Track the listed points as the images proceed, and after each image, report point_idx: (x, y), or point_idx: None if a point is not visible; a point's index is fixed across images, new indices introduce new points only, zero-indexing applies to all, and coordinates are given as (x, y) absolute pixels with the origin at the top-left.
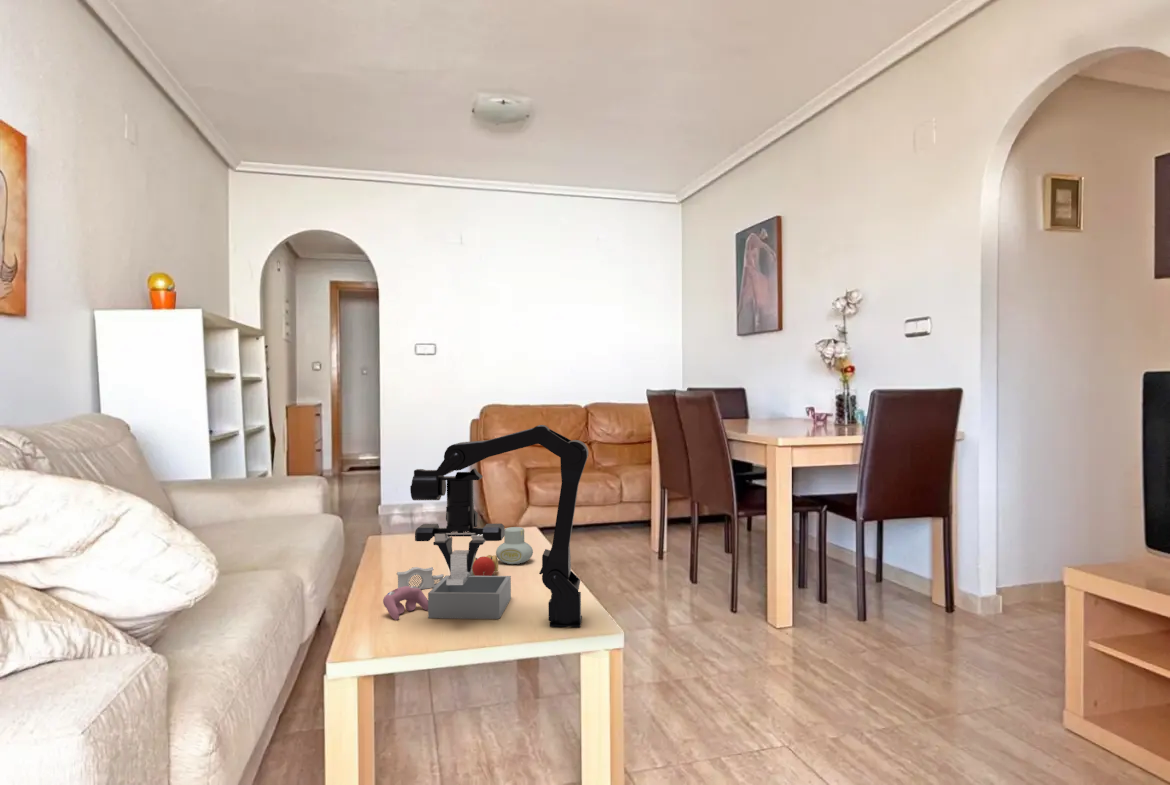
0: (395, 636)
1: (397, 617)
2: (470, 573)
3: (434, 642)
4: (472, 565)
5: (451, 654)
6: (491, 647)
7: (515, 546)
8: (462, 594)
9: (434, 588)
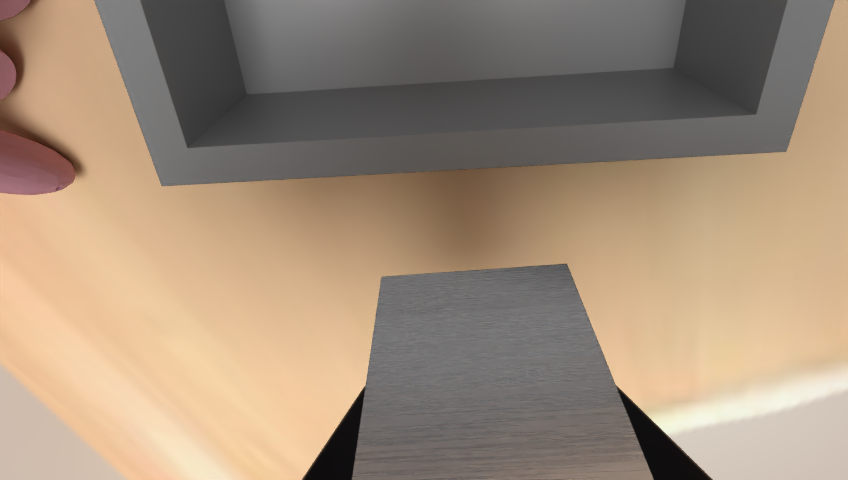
0: (222, 359)
1: (69, 184)
2: (571, 278)
3: None
4: (642, 417)
5: None
6: (654, 419)
7: None
8: (455, 165)
9: (121, 30)
